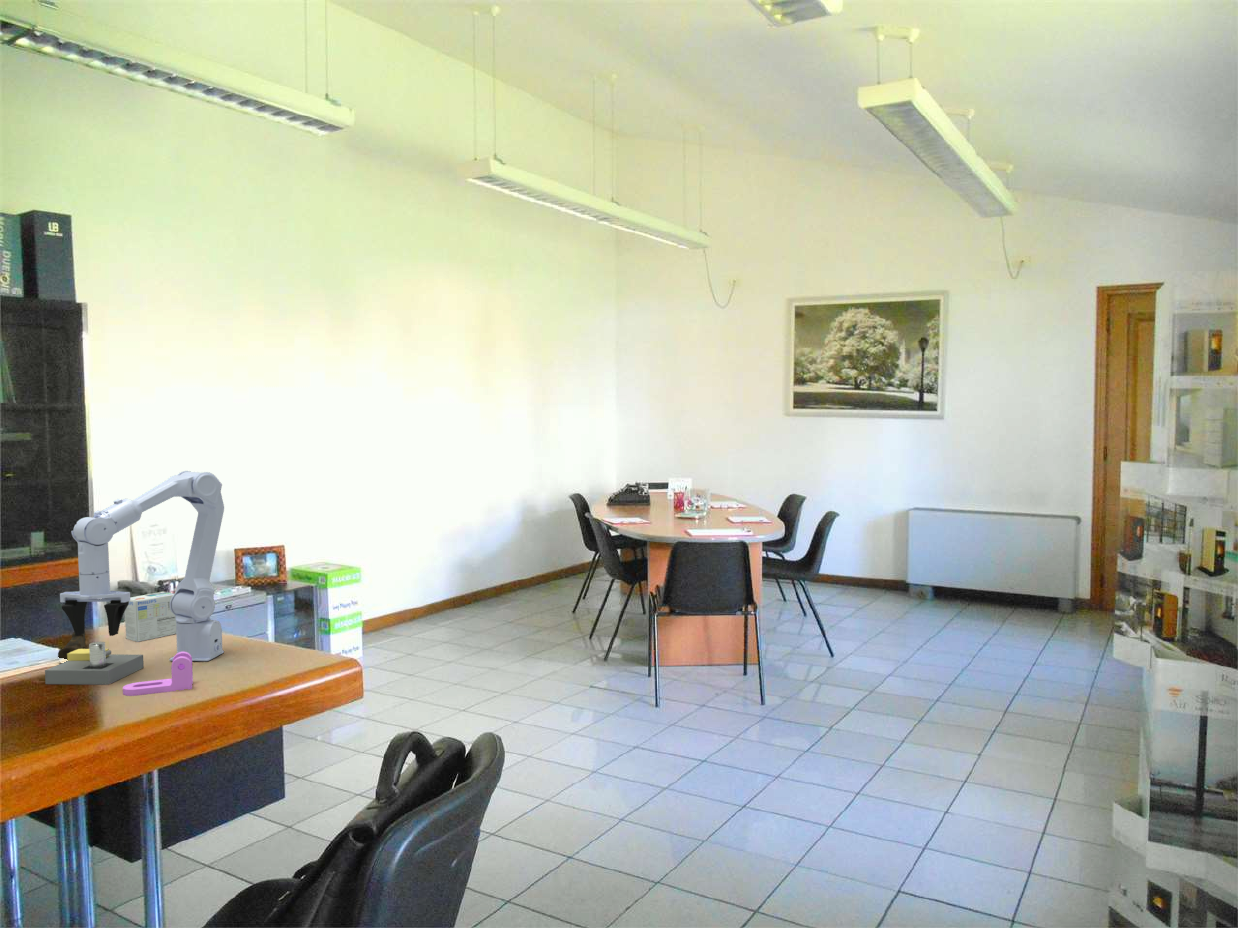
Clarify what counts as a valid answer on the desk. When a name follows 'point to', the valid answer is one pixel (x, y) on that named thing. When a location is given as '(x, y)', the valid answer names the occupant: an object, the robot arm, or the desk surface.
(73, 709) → the desk surface
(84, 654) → the latch flap
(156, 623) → the light bulb box
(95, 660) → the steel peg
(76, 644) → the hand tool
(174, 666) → the bracket
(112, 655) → the plate
